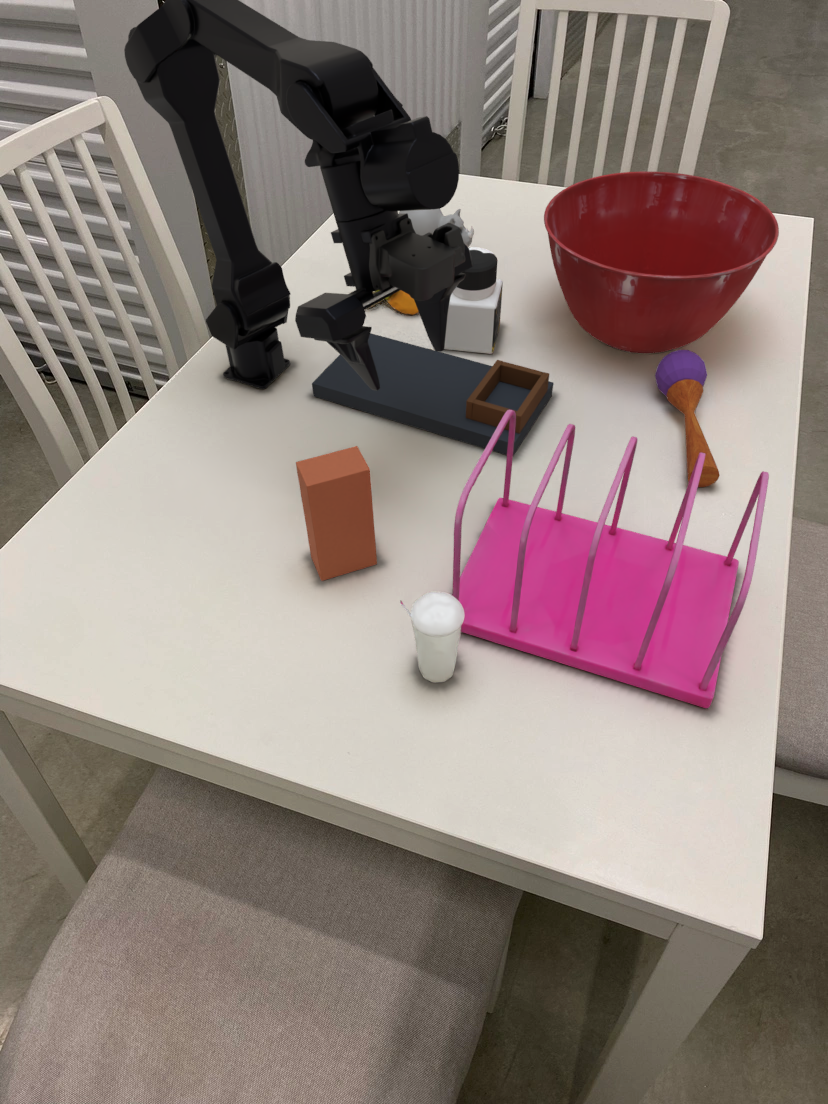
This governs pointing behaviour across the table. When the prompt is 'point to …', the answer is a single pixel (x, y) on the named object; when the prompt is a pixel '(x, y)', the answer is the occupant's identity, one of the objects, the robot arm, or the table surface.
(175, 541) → the table surface
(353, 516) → the terracotta rectangular block
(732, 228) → the mixing bowl
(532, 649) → the file sorter
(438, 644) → the milkshake
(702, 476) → the purple and brown maraca
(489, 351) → the medicine bottle
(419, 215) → the chubby cartoon animal
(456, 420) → the dark board with frame
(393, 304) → the rattle
